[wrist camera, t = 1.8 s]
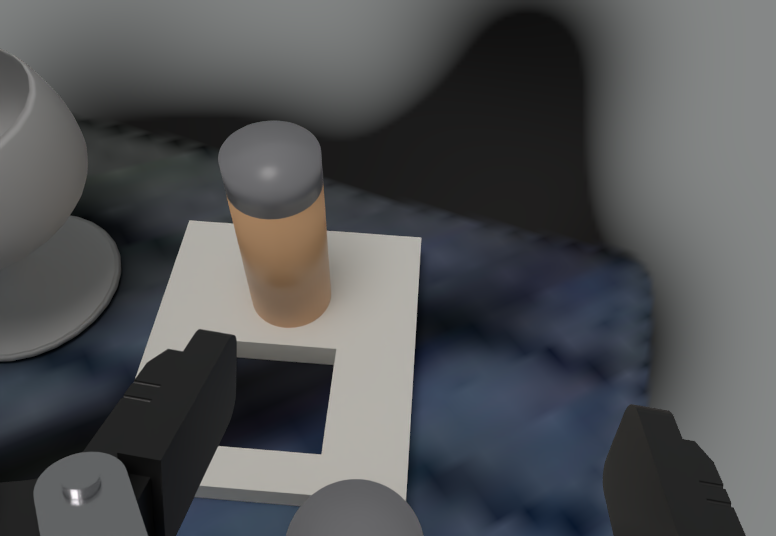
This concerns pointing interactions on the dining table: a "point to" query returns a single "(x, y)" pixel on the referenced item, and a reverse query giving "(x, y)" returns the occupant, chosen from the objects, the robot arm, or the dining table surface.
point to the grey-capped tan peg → (355, 512)
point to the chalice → (45, 221)
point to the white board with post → (300, 315)
